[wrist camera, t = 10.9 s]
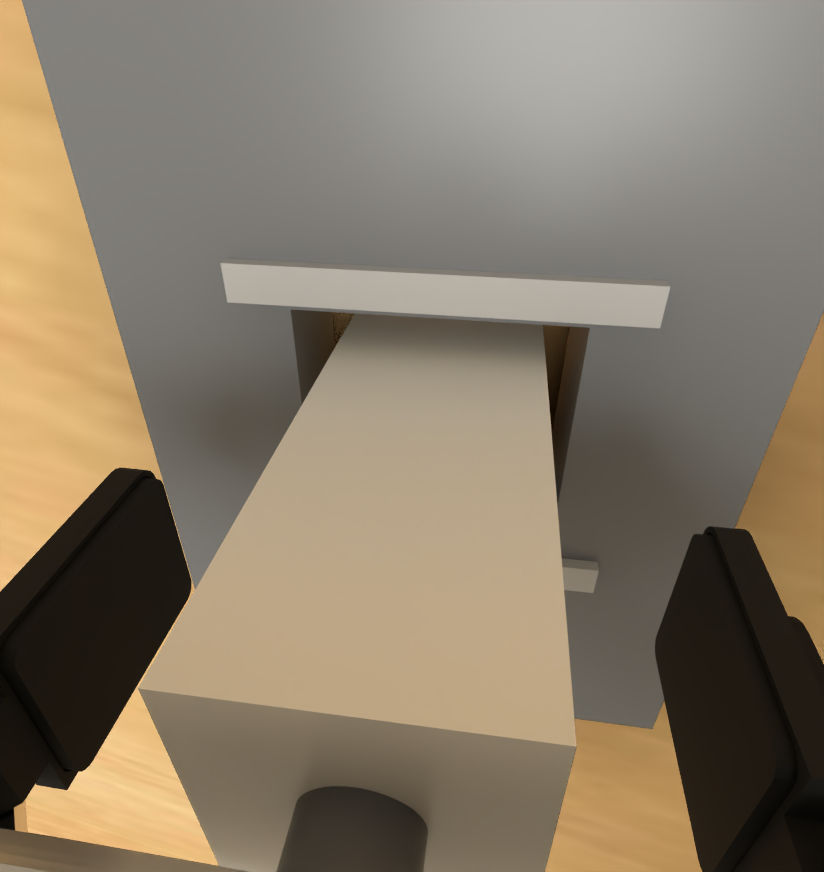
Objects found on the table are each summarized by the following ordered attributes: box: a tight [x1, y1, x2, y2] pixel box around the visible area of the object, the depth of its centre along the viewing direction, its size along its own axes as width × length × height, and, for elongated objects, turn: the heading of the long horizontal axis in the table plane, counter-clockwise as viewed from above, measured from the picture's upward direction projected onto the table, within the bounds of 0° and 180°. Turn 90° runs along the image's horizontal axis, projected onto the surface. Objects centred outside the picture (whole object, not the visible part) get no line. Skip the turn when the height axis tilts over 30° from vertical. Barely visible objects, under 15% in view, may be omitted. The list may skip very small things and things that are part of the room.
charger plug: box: [138, 313, 577, 872], centre depth 11 cm, size 4×4×13 cm
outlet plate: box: [22, 0, 824, 729], centre depth 15 cm, size 14×20×3 cm
